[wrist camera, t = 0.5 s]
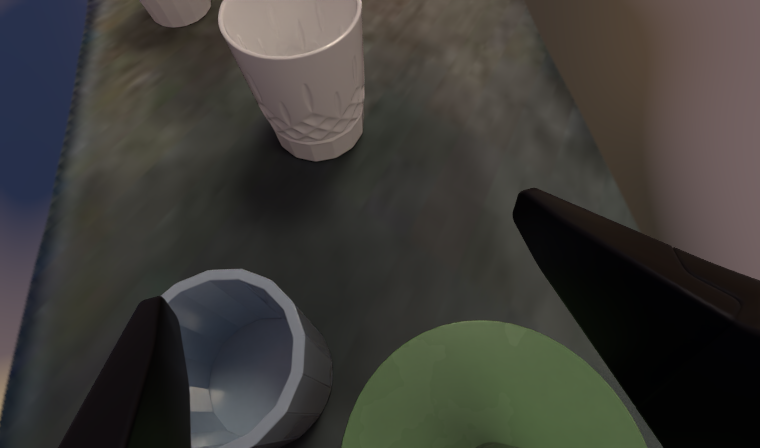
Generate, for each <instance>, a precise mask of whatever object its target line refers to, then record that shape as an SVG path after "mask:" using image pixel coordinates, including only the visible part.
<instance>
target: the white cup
mask: <svg viewBox="0 0 760 448" xmlns="http://www.w3.org/2000/svg"><path fill="white" fill-rule="evenodd" d="M218 23H219V28H220V31H221V33H222V35H223V37H224V39H225V41H226V43H227V45H228V46H229V48H230V50H231V52H232V54H233V56H234V58H235V60H236V62H237V64H238V66H239V68H240V70H241V72H242V74H243V76H244V78H245V80H246V82H247V84H248V86H249V88H250V90H251V92H252V94H253V95H254V97H255V99H256V101H257V103H258V105H259V106H260V108H261V110H262V112H263V114H264V115H265V118H266V119H267V120H268V121H269V123H270V124H271V126H272V128H273V129H274V131H275V133H276V135H277V137H278V140H279V142H280V144H281V146H282V147H283V148H284V149H286V150H287V151H288V152H290V153H291V154H292V155H294V156H295V157H296V158H301V159H305V160H310V161H315V162H316V161H322V160H328V159H334V158H337V157H338V156H340V155H342V154H343V153H345V152H347V151H348V150H350V149H352V148H353V147H354V145H355V144H356V142H357V141H358V139H359V138H360V136H361V135H362V133H363V121H364V109H363V103H364V85H365V84H364V53H363V26H362V0H223V2H222V4H221V6H220V9H219V14H218Z"/></svg>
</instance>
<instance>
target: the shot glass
mask: <svg viewBox="0 0 760 448" xmlns="http://www.w3.org/2000/svg"><path fill="white" fill-rule="evenodd" d="M139 1H140V2H141V3H142V5H143V6H144V7H145V9H146V10H147V11H148V13H149V14H150V16H151V17H152V18H153V20H154V21H155V22H156V23H158V24H160V25H162V26H165V27H172V28H175V27H182V26H187V25H190V24H192V23H194V22H197V21H198V20H200V19H201V18H202V17H203V16H205V15H206V14H207V12H208V10H209V9H210V7H211V0H139Z"/></svg>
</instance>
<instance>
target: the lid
mask: <svg viewBox="0 0 760 448" xmlns="http://www.w3.org/2000/svg"><path fill="white" fill-rule="evenodd" d="M341 448H647V446H646V443H645V441H644V439H643V437H642V435H641V432H640V430H639V428H638V427H637V425H636V423H635V422H634V420H633V418H632V416H631V415H630V413H629V411H628V410H627V408H626V407H625V405H624V404H623V403H622V401H621V400H620V398H619V397H618V396H617V394H616V393H615V392H614V390H613V389H612V388H611V387H610V386H609V385H608V384H607V382H606V381H605V380H604V379H603V378H602V377H601V376H600V375H599V374H598V373H597V372H596V371H595V370H594V369H593V368H592V367H591V366H590V365H589V364H587V363H586V362H585V361H584V360H583V359H582V358H580V357H579V356H578V355H576V354H575V353H574V352H572V351H571V350H569V349H568V348H567V347H565V346H563V345H562V344H560V343H558V342H556V341H555V340H553V339H551V338H549V337H548V336H545V335H543V334H541V333H538V332H536V331H533V330H531V329H528V328H525V327H521V326H518V325H515V324H511V323H505V322H498V321H488V320H471V321H461V322H455V323H451V324H447V325H442V326H439V327H436V328H434V329H431V330H429V331H426V332H424V333H422V334H420V335H418V336H416V337H415V338H413V339H411V340H409V341H408V342H406V343H405V344H404V345H402V346H401V347H400V348H398V349H397V350H396V351H394V352H393V353H392V354H391V355H390V356H389V357H388V358H387V359H386V360H385V361H384V362H383V363H382V364H381V365H380V366H379V367H378V369H377V370H376V371H375V372H374V374H373V375H372V376H371V377H370V379H369V380H368V382H367V383H366V385H365V387H364V388H363V390H362V392H361V393H360V395H359V397H358V399H357V401H356V403H355V405H354V408H353V410H352V412H351V414H350V417H349V420H348V423H347V426H346V430H345V433H344V436H343V440H342V446H341Z"/></svg>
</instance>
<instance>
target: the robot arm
mask: <svg viewBox="0 0 760 448" xmlns="http://www.w3.org/2000/svg"><path fill="white" fill-rule="evenodd" d="M513 220H514V222H515V224H516V226H517V228H518V230H519V232H520V233H521V235H522V237H523V239H524V241H525V243H526V245H527V246H528V248H529V250H530V252H531V254H532V256H533V257H534V259H535V261H536V263H537V264H538V266H539V268H540V269H541V271H542V272H543V274H544V275H545V277H546V278H547V280H548V281H549V282H550V284H551V285H552V287H553V288H554V290H555V291H556V293H557V294H558V296H559V297H560V298H561V300H562V301H563V303H564V304H565V306H566V307H567V309H568V310H569V311H570V313H571V314H572V316H573V317H574V319H575V320H576V322H577V323H578V324H579V326H580V327H581V329H582V330H583V332H584V333H585V335H586V336H587V337H588V339H589V340H590V342H591V343H592V345H593V346H594V348H595V349H596V350H597V352H598V353H599V355H600V356H601V358H602V359H603V361H604V362H605V364H606V365H607V366H608V368H609V369H610V371H611V372H612V374H613V375H614V377H615V378H616V379H617V381H618V382H619V384H620V385H621V387H622V388H623V390H624V391H625V392H626V394H627V395H628V397H629V398H630V400H631V401H632V403H633V404H634V405H635V406H636V409H637V410H638V412H639V413H640V415H641V416H642V417H643V419H644V420H645V422H646V423H647V425H648V426H649V428H650V429H651V430H652V432H653V433H654V435H655V436H656V438H657V439H658V441H659V442H660V443H661V445H662V446H663V448H760V281H759V280H757V279H754V278H751V277H748V276H745V275H743V274H740V273H737V272H735V271H732V270H729V269H726V268H724V267H721V266H718V265H716V264H713V263H711V262H708V261H706V260H704V259H701V258H699V257H696V256H694V255H691V254H689V253H687V252H684V251H682V250H680V249H677V248H675V247H674V248H672V247H671V246H670V245H668V244H665V243H663V242H661V241H658V240H656V239H653V238H651V237H649V236H647V235H644V234H642V233H640V232H637V231H635V230H633V229H630V228H628V227H626V226H623V225H621V224H619V223H616V222H614V221H612V220H609V219H607V218H605V217H602V216H600V215H598V214H595V213H593V212H591V211H588V210H586V209H584V208H581V207H579V206H577V205H574V204H572V203H570V202H567V201H565V200H563V199H560V198H558V197H556V196H553V195H551V194H549V193H546V192H544V191H542V190H539V189H537V188H530V189H527V190H523V191H521V192H520V193H519V194H518V197H517V200H516V204H515V207H514V210H513ZM58 448H191V421H190V391H189V382H188V375H187V368H186V362H185V356H184V350H183V343H182V337H181V331H180V325H179V321H178V318H177V316H176V314H175V313H174V311H173V310H172V309H171V307H170V306H169V304H168V303H167V301H166V300H165V299H164V298H163V297H162V296H157V297H153V298H150V299H146V300H143V301H142V302H140V303H139V305H138V306H137V308H136V310H135V312H134V313H133V315H132V317H131V319H130V321H129V322H128V324H127V326H126V328H125V329H124V331H123V333H122V335H121V337H120V338H119V340H118V342H117V344H116V346H115V347H114V349H113V351H112V353H111V354H110V356H109V358H108V360H107V362H106V363H105V365H104V367H103V369H102V370H101V372H100V374H99V376H98V378H97V379H96V381H95V383H94V385H93V386H92V388H91V390H90V392H89V394H88V395H87V397H86V399H85V401H84V402H83V404H82V406H81V408H80V410H79V411H78V413H77V415H76V417H75V418H74V420H73V422H72V424H71V426H70V427H69V429H68V431H67V433H66V434H65V436H64V438H63V440H62V442H61V443H60V445H59V447H58Z"/></svg>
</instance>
